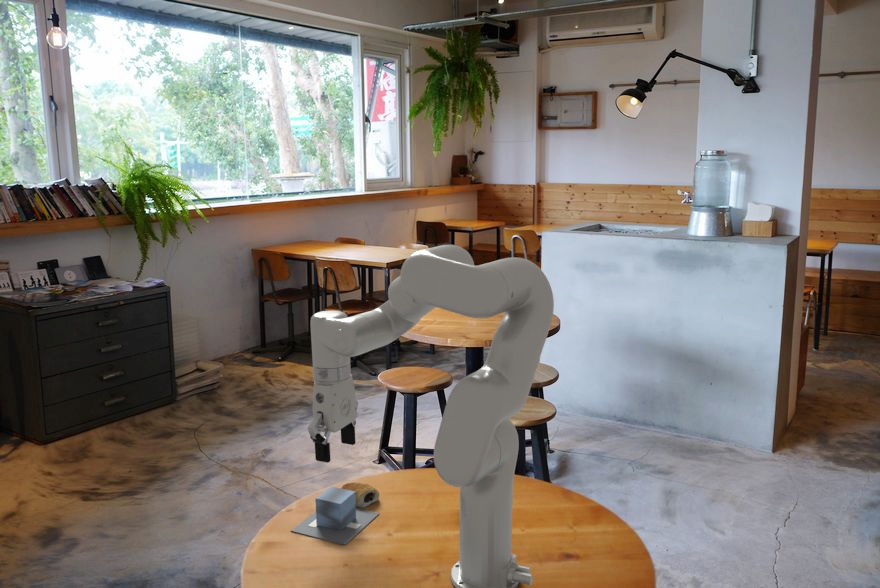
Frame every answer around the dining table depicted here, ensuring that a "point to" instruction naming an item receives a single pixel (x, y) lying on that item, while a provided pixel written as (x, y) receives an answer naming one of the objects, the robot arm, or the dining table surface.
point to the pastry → (362, 493)
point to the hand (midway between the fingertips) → (336, 452)
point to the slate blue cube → (335, 508)
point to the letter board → (334, 535)
